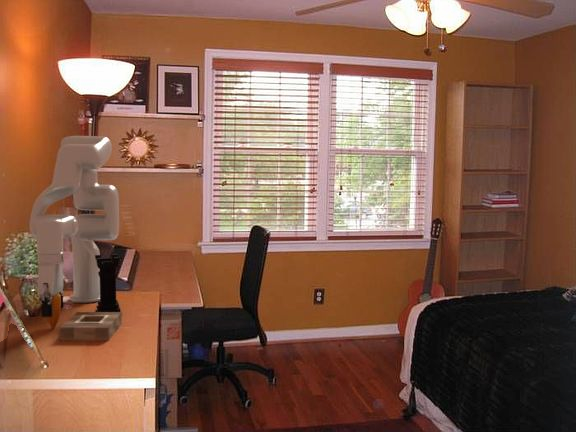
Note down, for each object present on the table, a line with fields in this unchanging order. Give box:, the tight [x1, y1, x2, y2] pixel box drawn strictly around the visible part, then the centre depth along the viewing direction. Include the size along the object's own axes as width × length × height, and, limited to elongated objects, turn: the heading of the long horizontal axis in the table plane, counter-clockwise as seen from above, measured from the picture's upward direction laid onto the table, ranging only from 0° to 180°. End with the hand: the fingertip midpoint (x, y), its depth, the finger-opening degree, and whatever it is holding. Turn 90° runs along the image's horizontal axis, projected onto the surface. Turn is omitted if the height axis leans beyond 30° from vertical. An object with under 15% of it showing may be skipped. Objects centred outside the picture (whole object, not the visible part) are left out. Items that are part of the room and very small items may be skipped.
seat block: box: [59, 311, 123, 342], centre depth 187 cm, size 16×14×4 cm
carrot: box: [46, 293, 62, 329], centre depth 189 cm, size 5×5×15 cm
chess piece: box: [94, 253, 123, 317], centre depth 205 cm, size 8×8×20 cm
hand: (52, 312), depth 189 cm, fingers open, 9 cm apart
